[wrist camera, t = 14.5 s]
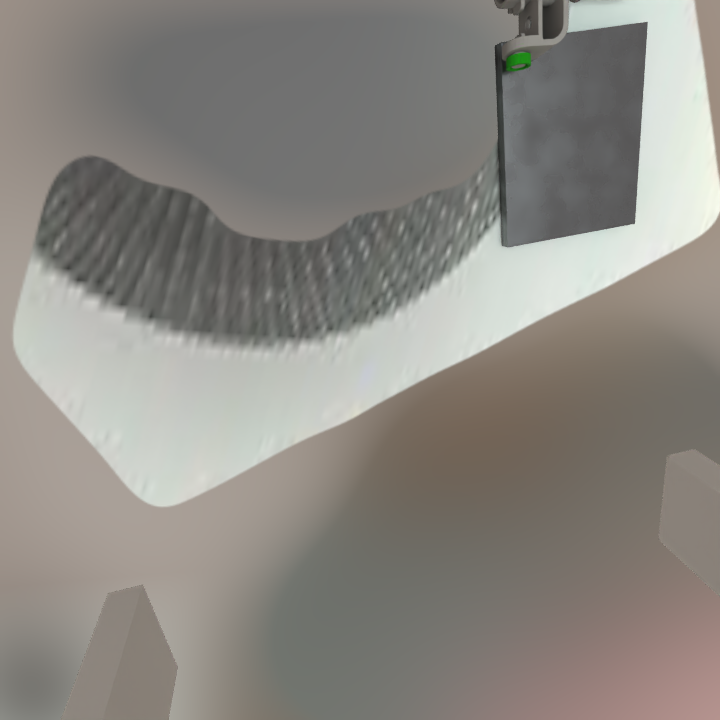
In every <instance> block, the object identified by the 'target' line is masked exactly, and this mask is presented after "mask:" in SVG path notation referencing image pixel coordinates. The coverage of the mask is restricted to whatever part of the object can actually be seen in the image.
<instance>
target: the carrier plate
mask: <svg viewBox="0 0 720 720" xmlns="http://www.w3.org/2000/svg"><path fill="white" fill-rule="evenodd" d="M647 23H648V22H644V23H636V24H629V25H622V26H615V27H608V28H601V29H594V30H586V31H579V32H572V33H566V35H565V36H564V38H563V39H562V40H561V41H560V42H559V43H557V44H556V45H555V46H553V47H552V48H551V49H549V50H548V51H546V52H545V53H544V54H542V55H541V56H540V57H538V58H537V59H534V60H531V66H530V67H529V68H527V69H524V70H520V71H513V72H512V71H507V70H506V61H504V60H503V59H502V46H503V45H504V44H505V43H507V42H501V43H499V44H497V45H495V64H496V90H497V117H498V144H499V171H500V197H501V224H502V246H505V247H513V246H518V245H523V244H529V243H534V242H539V241H545V240H550V239H555V238H560V237H566V236H571V235H576V234H582V233H587V232H592V231H598V230H603V229H608V228H614V227H619V226H624V225H630V224H635V213H636V197H637V182H638V166H639V150H640V134H641V118H642V102H643V87H644V71H645V55H646V39H647Z"/></svg>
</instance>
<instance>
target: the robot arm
mask: <svg viewBox="0 0 720 720" xmlns="http://www.w3.org/2000/svg"><path fill="white" fill-rule="evenodd" d="M658 539H659V540H660V541H661V542H662V543H663V544H664V545H665V546H666V547H667V548H668V549H669V550H670V551H671V552H672V553H674V554H675V555H676V556H677V557H678V558H679V559H680V560H681V561H682V562H683V563H684V564H685V565H686V566H687V567H688V568H690V569H691V570H692V571H693V572H694V573H695V574H696V575H697V576H698V577H699V578H700V579H701V580H702V581H703V582H704V583H705V584H706V585H708V586H709V587H710V588H711V589H712V590H713V591H714V592H715V593H716V594H717V595H718V596H720V465H718V464H716V463H715V462H713V461H712V460H710V459H708V458H707V457H706V456H704V455H702V454H701V453H699V452H698V451H696V450H695V449H692V450H688V451H684V452H680V453H676V454H672V455H668V456H667V462H666V471H665V481H664V490H663V500H662V509H661V519H660V529H659V538H658ZM177 669H178V666H177V664H176V662H175V659H174V657H173V655H172V652H171V650H170V647H169V645H168V643H167V640H166V638H165V636H164V633H163V631H162V629H161V627H160V624H159V622H158V619H157V617H156V615H155V612H154V610H153V607H152V605H151V603H150V600H149V598H148V596H147V593H146V591H145V589H144V586H143V585H139V586H135V587H131V588H127V589H123V590H119V591H115V592H111V593H108V595H107V598H106V600H105V603H104V606H103V608H102V611H101V614H100V616H99V619H98V622H97V625H96V627H95V630H94V632H93V635H92V638H91V640H90V643H89V646H88V648H87V651H86V654H85V656H84V659H83V662H82V664H81V667H80V670H79V672H78V675H77V678H76V680H75V683H74V686H73V688H72V691H71V694H70V696H69V699H68V702H67V705H66V708H65V710H64V713H63V715H62V718H61V720H168V719H169V714H170V708H171V702H172V697H173V691H174V686H175V680H176V674H177Z"/></svg>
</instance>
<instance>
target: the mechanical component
mask: <svg viewBox="0 0 720 720" xmlns="http://www.w3.org/2000/svg"><path fill="white" fill-rule="evenodd" d="M494 1H495V4H496V6H497V8H500V9H504V8H508V13H513V15H518V14H519V35H518V36H517V37H516V38H515V39H513V40H510V41H508V42H507V43H505V44H504V45H503V46H502V59H503V60H504V61H506V70H507V71H512V72H513V71H520V70H524V69H527V68H529V67H530V66H531V60H534V59H537V58H538V57H540V56H541V55H542V54H544V53H545V52H546V51H548V50H549V49H551V48H552V47H553V46H555V45H556V44H557V43H559V42H560V41H561V40H562V39H563V38H564V36H565V35H566V33H567V30H568V18H569V0H494ZM570 1H571V2H574V3H575V2H578V1H580V0H570ZM530 20H531V27H530V28H529V24H530Z"/></svg>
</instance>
